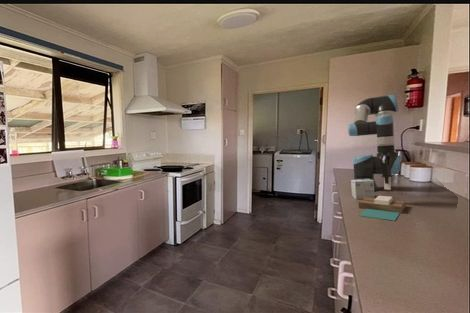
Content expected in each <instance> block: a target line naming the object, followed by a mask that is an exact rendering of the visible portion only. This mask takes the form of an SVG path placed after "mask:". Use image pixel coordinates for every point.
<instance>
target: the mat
mask: <svg viewBox="0 0 470 313" xmlns="http://www.w3.org/2000/svg"><path fill="white" fill-rule="evenodd" d="M400 214H401V213H398V212H390V211H382V210H374V209H364V210H363V211H362V212H360V214H359V215H358V216H359V217H363V218H371V219H378V220H384V221H391V222H395V221H396V220H397V218H398V217H399V216H400Z"/></svg>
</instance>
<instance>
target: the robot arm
mask: <svg viewBox="0 0 470 313" xmlns="http://www.w3.org/2000/svg"><path fill="white" fill-rule="evenodd" d="M398 111H399V105H398V101H397V97H396V95H395V94H387V95H382V96H375V97H369V98H366V99H363V100H362V101H360V102H359V103H358V104H356V107H355V108H354V120H353V123H349V124H348V127H347V132H348V136H350V137H360V136H373V135H376V139H375V141H376V145H377V146H376V147H377V148H376V149H377V153H376V155H375V156H374V155H373V154H372V153H371V154H363V155H358V156H355V157H354V158H353V162H352V163H353V177H354V178H353V180H358V179H371V180H374V192H375V191H378V184H377V181H376V180H375V175H382V176H381V177H382V178H383V188H384V190H389V191H391V190H392V186H391V184H392V183H391V182H392V180H391V178H392V177H393V175H398V174H399V173H400V170H401V169H400V168H401V160H402V159H401V158H402V155H399V153H398V151H397V150H396V146H395V128H394V116H395V115H397V114H396V113H397V112H398ZM369 115H370V116H371V115H374V116H375V120H374V121H369V120H368V119H369Z"/></svg>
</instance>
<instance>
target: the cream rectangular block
mask: <svg viewBox="0 0 470 313" xmlns="http://www.w3.org/2000/svg"><path fill="white" fill-rule="evenodd" d="M375 198H376V199H374V204H383V205H389V204H390V203H391V202H392V201H393V200H394V199H393V196H388V195H387V196H386V195H378V196H376V197H375Z"/></svg>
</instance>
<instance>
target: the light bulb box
mask: <svg viewBox="0 0 470 313" xmlns="http://www.w3.org/2000/svg"><path fill="white" fill-rule="evenodd" d="M374 180H375V179H374ZM374 180H371V179H358V180H354V179H351V180H350V185H351V186H350V187H351V197H352V196H353V197H354V198H353V197H352V198H353V199H355V200H362V199H364V198H365V197H369V198H376V197H375V196H376V195H375V191H374Z"/></svg>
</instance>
